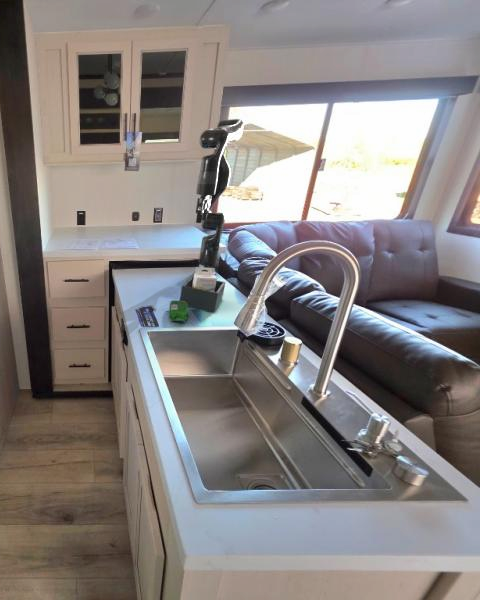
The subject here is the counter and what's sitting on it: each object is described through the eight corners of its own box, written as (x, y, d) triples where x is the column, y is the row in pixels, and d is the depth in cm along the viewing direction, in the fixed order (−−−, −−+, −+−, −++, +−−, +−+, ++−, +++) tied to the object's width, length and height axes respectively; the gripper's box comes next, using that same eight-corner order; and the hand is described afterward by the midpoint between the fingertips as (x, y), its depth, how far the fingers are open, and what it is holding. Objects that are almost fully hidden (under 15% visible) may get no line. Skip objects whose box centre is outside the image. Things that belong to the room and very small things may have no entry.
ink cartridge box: (192, 302, 137) (197, 270, 131) (190, 297, 142) (194, 266, 136) (212, 303, 137) (218, 271, 131) (209, 298, 141) (215, 267, 135)
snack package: (168, 324, 120) (169, 312, 118) (168, 307, 134) (170, 296, 132) (187, 327, 119) (189, 315, 116) (186, 310, 132) (188, 298, 130)
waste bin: (189, 293, 149) (192, 275, 146) (221, 300, 142) (225, 281, 138) (179, 304, 137) (181, 285, 134) (214, 312, 130) (217, 293, 126)
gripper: (212, 184, 125) (205, 224, 132) (220, 182, 136) (213, 220, 143) (193, 183, 129) (188, 223, 136) (202, 181, 140) (196, 218, 147)
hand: (201, 221), depth 139 cm, fingers open, 8 cm apart
